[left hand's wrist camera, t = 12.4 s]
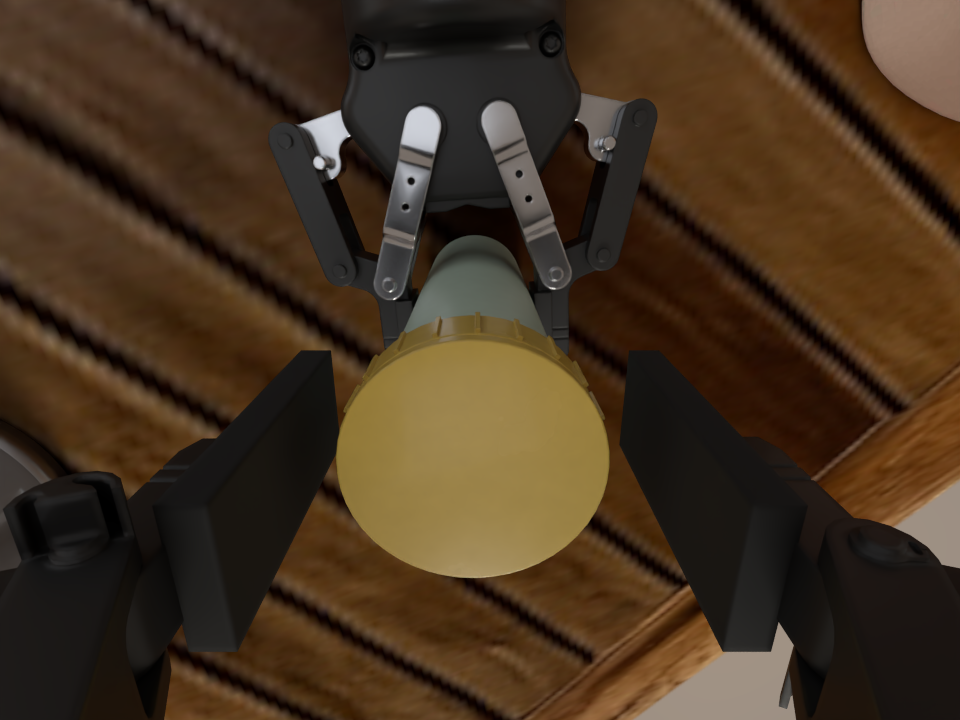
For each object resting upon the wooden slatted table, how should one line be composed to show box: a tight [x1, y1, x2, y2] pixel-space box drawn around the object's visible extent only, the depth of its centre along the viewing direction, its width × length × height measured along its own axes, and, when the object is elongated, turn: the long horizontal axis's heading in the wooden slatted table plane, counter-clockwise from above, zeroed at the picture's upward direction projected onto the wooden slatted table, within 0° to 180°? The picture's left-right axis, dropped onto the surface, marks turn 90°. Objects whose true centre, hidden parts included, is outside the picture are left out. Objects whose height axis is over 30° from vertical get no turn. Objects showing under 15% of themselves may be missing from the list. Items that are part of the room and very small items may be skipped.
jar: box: [404, 235, 547, 338], centre depth 20 cm, size 5×5×18 cm
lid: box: [336, 312, 610, 578], centre depth 11 cm, size 6×6×2 cm
